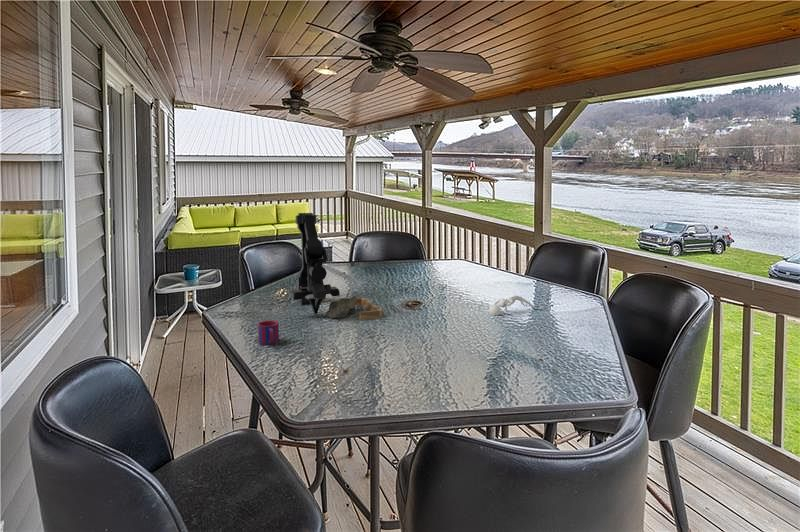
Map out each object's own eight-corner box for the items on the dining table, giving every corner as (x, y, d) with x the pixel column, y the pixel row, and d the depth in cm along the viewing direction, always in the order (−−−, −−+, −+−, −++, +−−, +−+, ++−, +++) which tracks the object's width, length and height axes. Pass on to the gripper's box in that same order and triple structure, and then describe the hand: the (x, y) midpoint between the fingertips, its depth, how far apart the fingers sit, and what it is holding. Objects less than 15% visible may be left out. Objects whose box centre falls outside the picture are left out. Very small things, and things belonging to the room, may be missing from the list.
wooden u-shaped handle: (342, 305, 224) (342, 299, 223) (363, 304, 228) (363, 297, 227) (360, 320, 203) (360, 312, 202) (382, 317, 207) (382, 310, 206)
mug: (278, 338, 180) (277, 319, 179) (280, 347, 170) (280, 328, 169) (258, 340, 178) (257, 321, 176) (259, 349, 168) (259, 329, 167)
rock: (337, 297, 219) (358, 293, 216) (340, 313, 220) (362, 309, 217) (320, 306, 203) (342, 301, 200) (324, 322, 204) (346, 318, 201)
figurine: (543, 301, 221) (503, 293, 207) (537, 324, 222) (497, 318, 208) (527, 297, 229) (487, 289, 215) (521, 319, 230) (481, 312, 215)
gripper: (296, 281, 193) (297, 321, 196) (343, 278, 201) (344, 316, 204) (289, 276, 203) (290, 314, 206) (335, 272, 211) (335, 309, 214)
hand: (315, 313), depth 207 cm, fingers closed
